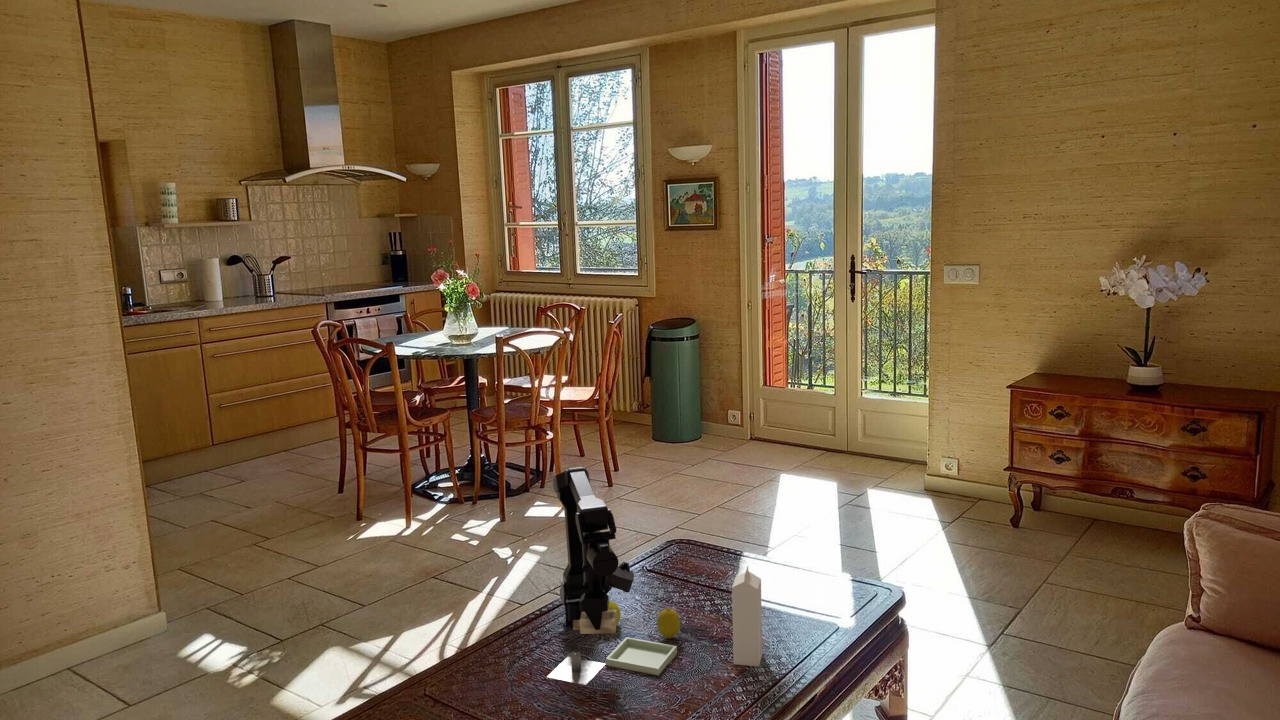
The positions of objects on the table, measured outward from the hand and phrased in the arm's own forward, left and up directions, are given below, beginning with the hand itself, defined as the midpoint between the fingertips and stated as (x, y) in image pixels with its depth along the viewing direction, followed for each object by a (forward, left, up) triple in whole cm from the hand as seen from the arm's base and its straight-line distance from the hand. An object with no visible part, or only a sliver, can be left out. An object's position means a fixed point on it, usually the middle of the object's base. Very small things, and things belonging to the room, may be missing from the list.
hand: (598, 623), depth 207 cm
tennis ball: (-7, +18, -11) cm, 23 cm away
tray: (+8, +6, -11) cm, 15 cm away
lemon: (+10, +18, -11) cm, 24 cm away
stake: (-4, -4, -11) cm, 12 cm away
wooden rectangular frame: (0, 0, -1) cm, 1 cm away
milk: (+31, +15, -11) cm, 36 cm away
